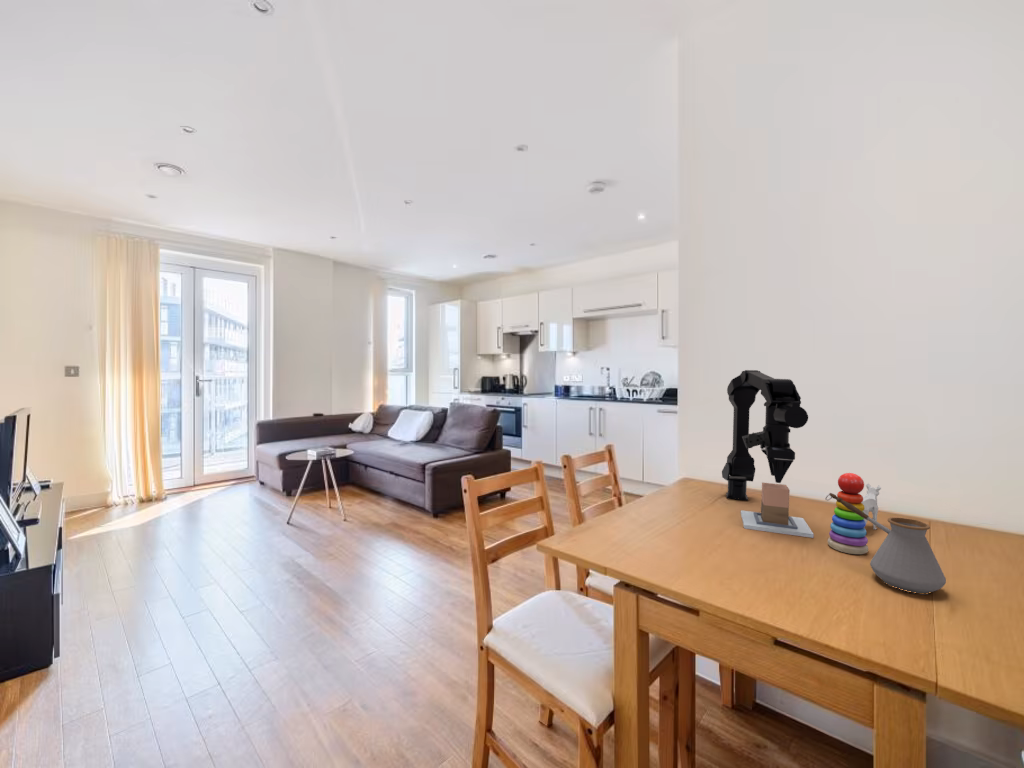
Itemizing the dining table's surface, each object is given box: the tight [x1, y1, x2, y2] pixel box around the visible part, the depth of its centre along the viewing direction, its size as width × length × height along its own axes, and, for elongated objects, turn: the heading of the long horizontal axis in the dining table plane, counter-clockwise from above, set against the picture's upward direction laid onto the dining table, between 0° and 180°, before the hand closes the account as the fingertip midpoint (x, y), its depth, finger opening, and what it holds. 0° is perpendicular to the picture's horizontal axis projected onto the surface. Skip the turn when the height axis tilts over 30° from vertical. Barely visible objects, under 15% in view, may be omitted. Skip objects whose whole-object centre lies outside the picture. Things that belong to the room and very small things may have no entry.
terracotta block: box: [760, 482, 791, 509], centre depth 124 cm, size 6×6×5 cm
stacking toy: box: [827, 472, 869, 555], centre depth 107 cm, size 8×8×19 cm
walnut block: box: [760, 500, 790, 525], centre depth 124 cm, size 6×6×5 cm
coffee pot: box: [825, 492, 947, 593], centre depth 93 cm, size 21×12×15 cm, turn 23°
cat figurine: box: [861, 482, 882, 531], centre depth 120 cm, size 4×20×14 cm, turn 124°
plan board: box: [740, 510, 815, 539], centre depth 124 cm, size 14×16×2 cm
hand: (775, 479), depth 123 cm, fingers open, 9 cm apart
